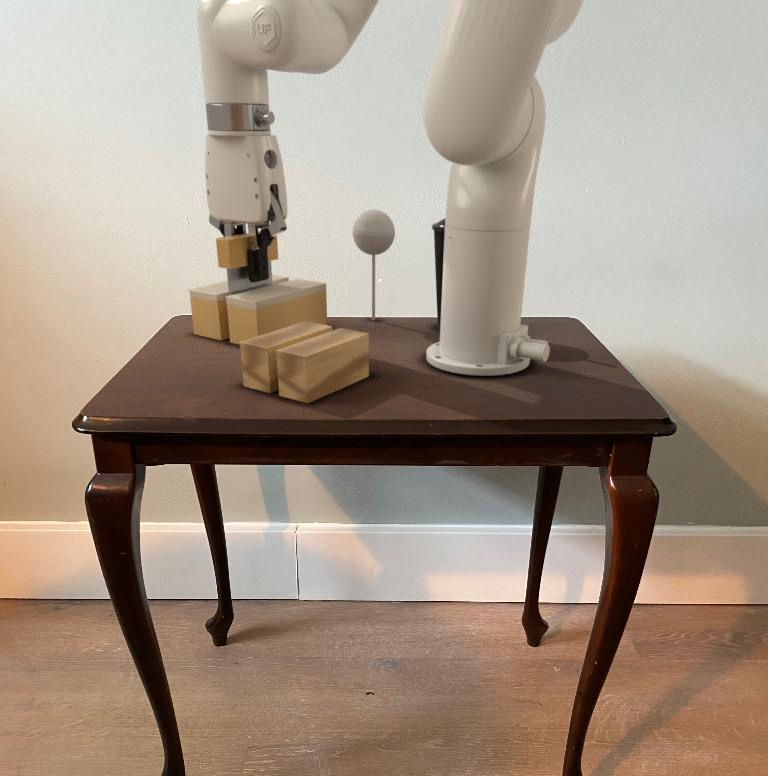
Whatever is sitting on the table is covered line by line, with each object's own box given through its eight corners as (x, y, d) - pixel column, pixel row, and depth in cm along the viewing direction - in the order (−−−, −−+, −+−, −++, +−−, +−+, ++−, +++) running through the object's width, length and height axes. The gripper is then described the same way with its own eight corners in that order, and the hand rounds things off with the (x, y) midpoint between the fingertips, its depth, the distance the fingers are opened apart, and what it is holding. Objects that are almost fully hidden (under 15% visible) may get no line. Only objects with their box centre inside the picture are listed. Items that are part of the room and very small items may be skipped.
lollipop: (389, 326, 104) (390, 213, 96) (348, 323, 105) (347, 211, 97) (397, 315, 109) (399, 207, 102) (358, 313, 110) (358, 206, 103)
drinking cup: (485, 335, 100) (497, 175, 90) (429, 335, 100) (435, 174, 90) (479, 321, 106) (490, 170, 97) (426, 321, 106) (432, 170, 97)
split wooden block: (369, 376, 84) (369, 333, 82) (307, 403, 76) (305, 356, 74) (307, 362, 89) (305, 321, 86) (243, 386, 81) (239, 341, 78)
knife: (282, 318, 102) (277, 231, 97) (236, 332, 96) (228, 240, 90) (270, 316, 103) (264, 230, 98) (224, 329, 97) (215, 238, 91)
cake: (327, 326, 103) (326, 283, 100) (259, 349, 93) (255, 301, 90) (264, 314, 109) (261, 272, 106) (194, 334, 99) (188, 289, 96)
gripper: (310, 122, 87) (316, 282, 96) (214, 120, 94) (227, 268, 103) (267, 123, 81) (277, 292, 90) (169, 120, 89) (187, 276, 98)
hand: (250, 278), depth 97 cm, fingers closed on knife, 2 cm apart
